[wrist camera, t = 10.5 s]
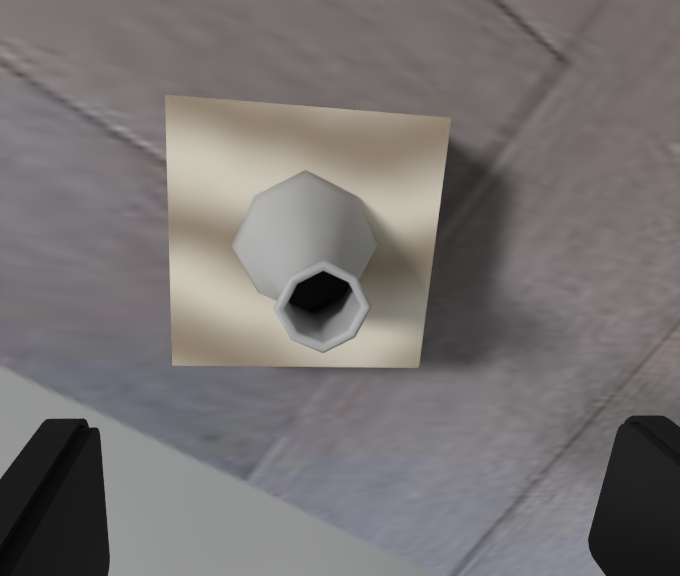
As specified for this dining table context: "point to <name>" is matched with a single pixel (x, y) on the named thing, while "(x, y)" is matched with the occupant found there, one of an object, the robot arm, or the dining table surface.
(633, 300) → the dining table surface
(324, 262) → the flask
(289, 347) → the grooved beige box
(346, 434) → the dining table surface
